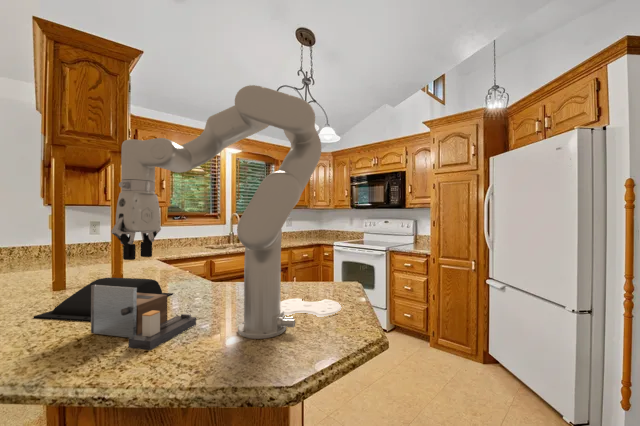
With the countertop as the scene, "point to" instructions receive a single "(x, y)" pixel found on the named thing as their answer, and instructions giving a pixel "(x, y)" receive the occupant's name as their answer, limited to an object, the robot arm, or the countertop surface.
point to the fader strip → (163, 332)
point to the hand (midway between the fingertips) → (138, 257)
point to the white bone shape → (310, 307)
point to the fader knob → (150, 323)
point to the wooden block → (150, 307)
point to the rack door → (113, 310)
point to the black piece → (80, 301)
